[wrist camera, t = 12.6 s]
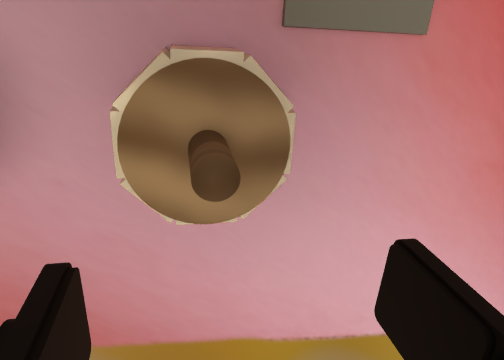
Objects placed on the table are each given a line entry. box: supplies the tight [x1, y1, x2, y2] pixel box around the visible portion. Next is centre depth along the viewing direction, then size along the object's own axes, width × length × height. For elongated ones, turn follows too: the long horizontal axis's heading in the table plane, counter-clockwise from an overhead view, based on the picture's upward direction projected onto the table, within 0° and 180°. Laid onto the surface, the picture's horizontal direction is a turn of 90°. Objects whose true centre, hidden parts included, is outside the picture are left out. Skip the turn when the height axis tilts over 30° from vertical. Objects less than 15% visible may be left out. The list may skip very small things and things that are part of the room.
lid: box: [117, 58, 290, 224], centre depth 24 cm, size 13×13×7 cm
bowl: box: [109, 45, 296, 225], centre depth 30 cm, size 14×14×6 cm
